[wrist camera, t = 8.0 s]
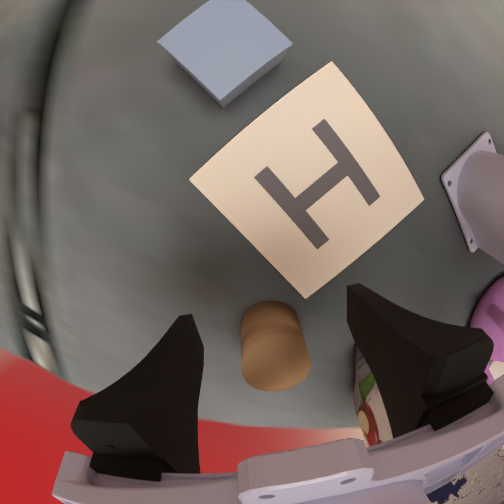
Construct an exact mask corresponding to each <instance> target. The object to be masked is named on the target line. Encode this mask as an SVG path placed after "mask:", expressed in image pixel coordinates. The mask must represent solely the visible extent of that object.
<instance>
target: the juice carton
mask: <svg viewBox="0 0 504 504" xmlns="http://www.w3.org/2000/svg"><path fill="white" fill-rule="evenodd" d="M355 365H356V374H355V382H354V402H355V410H356V414H357V417H358V420H359V423H360V426H361V429H362V432H363V434H364V437H365V440H366V443H367V446H368V447H371V446H374V445H377V444H380V443H383V442H386V441H388V440H391V439H393V436H392V432H391V428H390V424H389V420H388V417H387V413H386V410H385V407H384V404H383V401H382V398H381V395H380V392H379V389H378V386H377V384H376V381H375V378H374V376H373V374H372V372H371V370H370V368H369V366H368V364H367V363H366V361H365V359H364V357H363V355H362V353H361V351H360V350H359V348H358V346H357V345H356V351H355ZM426 498H427V501H428V503H429V504H504V450H503V448H502V447H500V448H499V449H498V450H496V451H495V452H494V453H492V454H491V455H489V456H488V457H487V458H485V459H484V460H482V461H481V462H480V463H478V464H477V465H475V466H474V467H472V468H471V469H469V470H468V471H466V472H465V473H463V474H462V475H460V476H458V477H457V478H455V479H453V480H452V481H450V482H448V483H447V484H445V485H443V486H442V487H440V488H438V489H436V490H434V491H432V492H431V493H429V494H427V495H426Z"/></svg>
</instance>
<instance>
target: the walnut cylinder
mask: <svg viewBox="0 0 504 504" xmlns="http://www.w3.org/2000/svg"><path fill="white" fill-rule="evenodd" d="M241 350H242V373H243V377H244V379H245V380H246V382H247V383H248V384H249V385H251V386H252V387H254V388H257V389H259V390H263V391H281V390H285V389H289V388H291V387H293V386H296V385H297V384H299V383H300V382H302V381H303V380H304V379H305V378H306V377H307V375H308V374H309V372H310V369H311V360H310V357H309V353H308V350H307V347H306V343H305V340H304V337H303V334H302V330H301V327H300V324H299V321H298V317H297V315H296V313H295V311H294V310H293V309H292V308H291V307H290V306H289V305H287V304H285V303H282V302H278V301H266V302H262V303H258V304H256V305H254V306H253V307H251V308H250V309H249V310H248V311H246V313H245V314H244V316H243V317H242V320H241Z"/></svg>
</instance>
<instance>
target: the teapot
mask: <svg viewBox="0 0 504 504" xmlns="http://www.w3.org/2000/svg"><path fill="white" fill-rule="evenodd" d="M470 327H472V328H482V329H483V330H484V331H485V333H486V334H487V335H488V336H489V337H490V338H491V339H492V340H493V343H494V349H493V353H492V356H491V358H490V359H491V360H494V361H501V362H504V277H502V278H500V279H499V280H497V281H496V282H495V283H494V284H493V285H492V286H491V287H490V288H489V289H488V290H487V291H486V293H485V294H484V295H483V297H482V298H481V300H480V301H479V303H478V305H477V307H476V309H475V311H474V313H473V316H472V319H471V323H470ZM484 372H485V373H486V375H487V376H488V379H487V380H486V382H487V384H488V385H489V386H490V384H491V383H492V382H493V381H494V378H493V376H492V375H491V373H490V371H489V362H488V365H487V367H486V369H485V371H484Z"/></svg>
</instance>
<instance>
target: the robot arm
mask: <svg viewBox="0 0 504 504" xmlns="http://www.w3.org/2000/svg"><path fill="white" fill-rule="evenodd" d="M441 180H442V183H443V185H444V187H445V189H446V192H447V194H448V196H449V199H450V201H451V203H452V206H453V208H454V211H455V213H456V216H457V218H458V221H459V223H460V226H461V229H462V231H463V234H464V237H465V240H466V243H467V246H468V249H469V251H470V252H472V253H473V252H475V251H476V250H477V248H480V249H481V250H483V251H484V252H486V253H487V254H489V255H490V256H492V257H493V258H494V259H496V260H497V261H499V262H500V263H502V264H503V265H504V155H501V154H497V152H496V150H495V147H494V144H493V141H492V139H491V136H490V134H489V133H488V132H484V133H483V134H482V135H481V136H480V137H479V138H478V139H477V140H476V141H475V142H474V143H473V144H472V145H471V146H470V147H469V148H468V149H467V150H466V151H465V152H464V153H463V154H462V155H461V156H460V157H459V158H458V159H457V160H456V161H455V162H454V163H453V164H452V165H451V166H450V167H449V168H448V169H447V170H446V171H445V172H444V173H443V174H442V176H441ZM448 181H449V185H448ZM470 240H471V241H470ZM347 323H348V325H349V328H350V331H351V333H352V336H353V338H354V340H355V342H356V344H357V346H358V348H359V350H360V351H361V353H362V355H363V357H364V359H365V361H366V363H367V364H368V366H369V368H370V370H371V372H372V374H373V376H374V378H375V381H376V384H377V386H378V389H379V392H380V395H381V398H382V401H383V404H384V407H385V410H386V413H387V417H388V420H389V424H390V428H391V432H392V436H393V439H391V440H388V441H386V442H383V443H380V444H377V445H374V446H371V447H367V448H366V446H365V443H364V441H363V440H359V439H353V438H348V439H342V440H336V441H332V442H328V443H323V444H319V445H314V446H309V447H304V448H299V449H294V450H288V451H282V452H276V453H269V454H263V455H258V456H253V457H249V458H248V459H246V460H244V461H242V462H241V463H239V464H238V468H237V472H235V473H213V474H200V466H199V452H198V430H197V429H198V426H197V425H198V401H199V394H200V387H201V380H202V373H203V366H204V346H203V344H202V341H201V338H200V335H199V333H198V330H197V327H196V324H195V321H194V319H193V316H192V314H188V315H181V316H179V317H178V318H177V319H176V321H175V322H174V323H173V324H172V326H171V327H170V328H169V330H168V331H167V332H166V333H165V335H164V336H163V337H162V338H161V340H160V341H159V342H158V343H157V344H156V345H155V347H154V348H153V349H152V350H151V351H150V352H149V353H148V354H147V356H146V357H145V358H144V359H143V360H142V361H141V362H140V363H138V364H137V365H136V366H135V367H134V368H133V369H132V370H131V371H129V372H128V373H127V374H125V375H124V376H123V377H122V378H120V379H119V380H118V381H116V382H115V383H113V384H112V385H110V386H109V387H107V388H105V389H104V390H102V391H100V392H98V393H97V394H95V395H93V396H90V397H88V398H87V399H84V400H82V401H80V402H79V405H78V407H77V409H76V412H75V414H74V417H73V419H72V422H71V429H72V430H73V432H74V434H75V435H76V436H77V437H78V438H79V439H80V440H81V441H82V442H83V443H84V444H85V445H86V446H87V447H88V448H89V449H90V450H91V451H93V455H92V458H90V457H88V456H86V455H82V454H78V453H73V452H69V451H66V452H65V454H64V457H63V460H62V463H61V466H60V469H59V472H58V475H57V478H56V482H55V485H54V488H53V492H52V495H53V496H54V497H55V498H57V499H58V500H60V501H62V502H63V503H65V504H429V503H428V501H427V498H426V495H427V494H429V493H431V492H432V491H434V490H436V489H438V488H440V487H442V486H443V485H445V484H447V483H448V482H450V481H452V480H453V479H455V478H457V477H458V476H460V475H462V474H463V473H465V472H466V471H468V470H469V469H471V468H472V467H474V466H475V465H477V464H478V463H480V462H481V461H482V460H484V459H485V458H487V457H488V456H489V455H491V454H492V453H494V452H495V451H496V450H498V449H499V448H500V447H502V446H503V445H504V375H502V376H501V377H499V378H497V379H496V380H495V381H493V382H492V383H491V384H490V386H489V385H488V384H487V382H486V380H487V379H488V376H487V375H486V373H485V372H484V371H485V369H486V367H487V365H488V362H489V360H490V358H491V356H492V353H493V349H494V343H493V340H492V339H491V338H490V337H489V336H488V335H487V334H486V333H485V331H484V330H483V329H482V328H472V327H462V326H456V325H450V324H446V323H442V322H438V321H435V320H431V319H428V318H425V317H422V316H420V315H417V314H415V313H412V312H410V311H408V310H406V309H404V308H402V307H400V306H398V305H396V304H394V303H392V302H390V301H388V300H387V299H385V298H383V297H382V296H380V295H378V294H377V293H375V292H373V291H372V290H370V289H368V288H367V287H365V286H363V285H361V284H360V283H358V284H354V285H349V286H347Z"/></svg>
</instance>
